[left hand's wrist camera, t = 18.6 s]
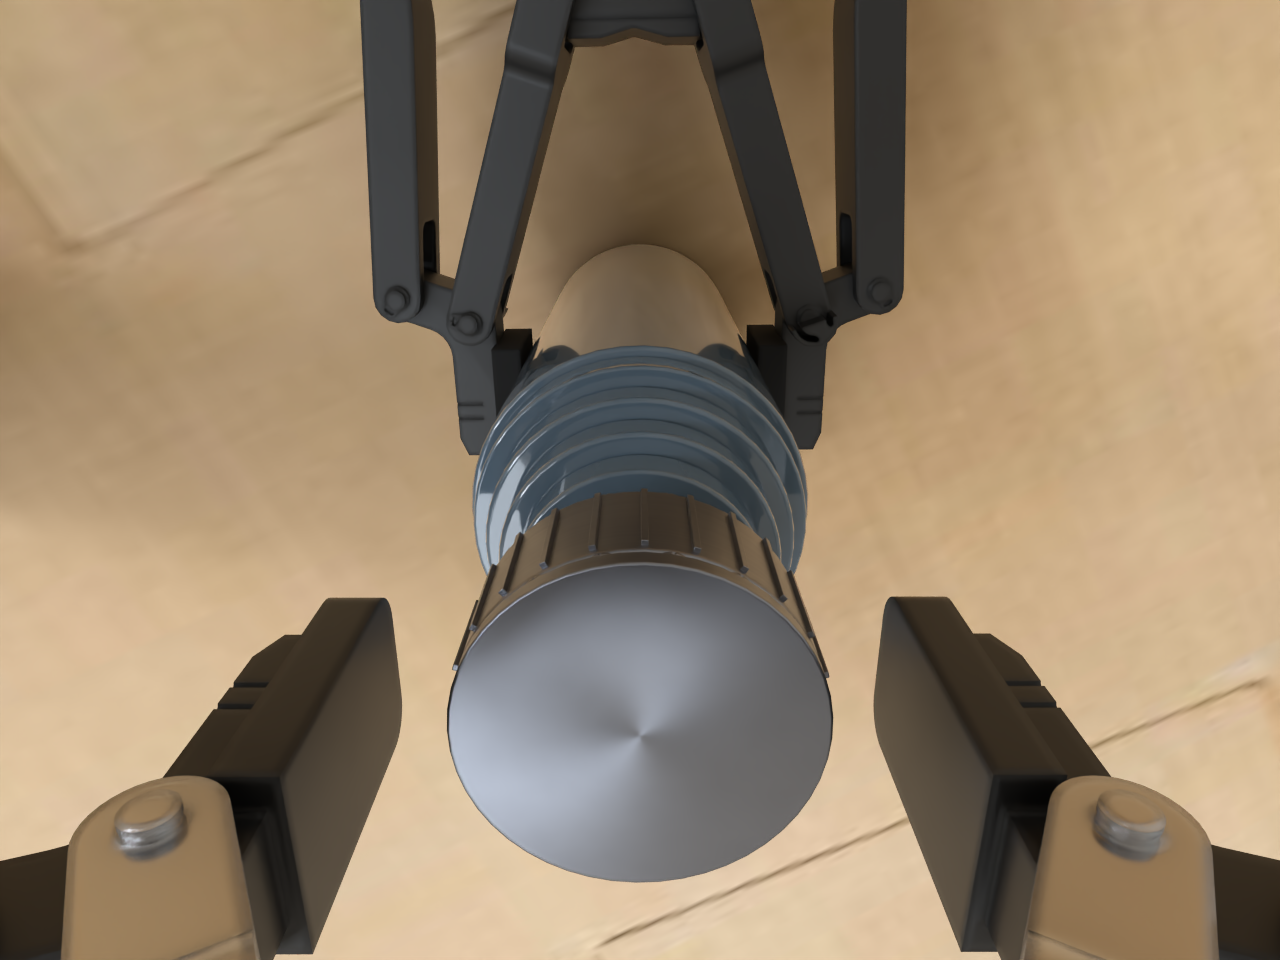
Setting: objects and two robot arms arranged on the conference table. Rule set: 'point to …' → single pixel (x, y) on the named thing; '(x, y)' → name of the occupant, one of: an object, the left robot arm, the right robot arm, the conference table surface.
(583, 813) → the cap
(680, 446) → the bottle
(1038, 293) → the conference table surface
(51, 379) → the conference table surface
